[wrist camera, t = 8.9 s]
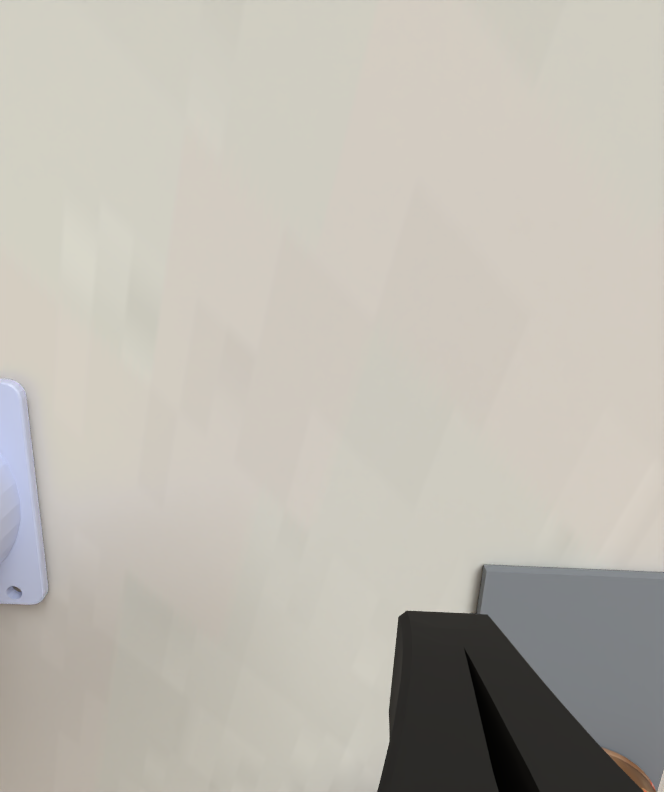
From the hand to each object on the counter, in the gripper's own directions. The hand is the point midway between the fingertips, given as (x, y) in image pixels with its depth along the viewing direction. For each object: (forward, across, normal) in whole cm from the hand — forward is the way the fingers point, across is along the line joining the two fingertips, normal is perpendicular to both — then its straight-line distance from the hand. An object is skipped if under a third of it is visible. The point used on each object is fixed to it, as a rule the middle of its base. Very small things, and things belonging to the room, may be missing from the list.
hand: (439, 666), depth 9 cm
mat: (+10, -8, +14) cm, 19 cm away
